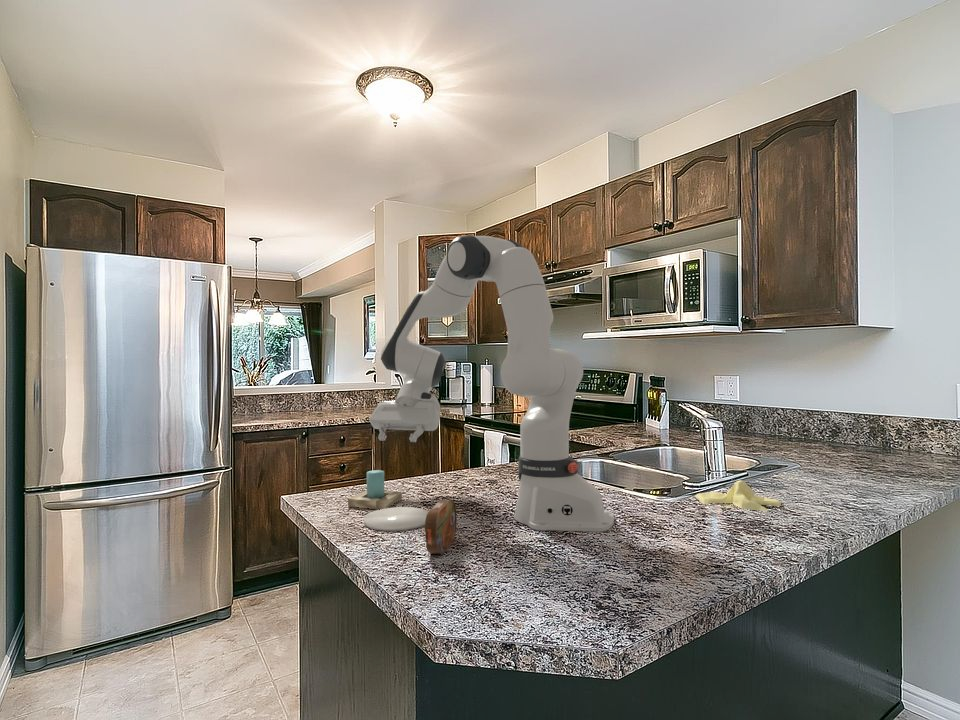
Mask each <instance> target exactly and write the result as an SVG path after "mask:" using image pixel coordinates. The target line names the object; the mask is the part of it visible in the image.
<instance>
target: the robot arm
mask: <svg viewBox="0 0 960 720" xmlns="http://www.w3.org/2000/svg"><path fill="white" fill-rule="evenodd" d="M478 281H483V282H486V283H488V282H492V283H493V282H494V283H495V284H496V288H497V292H498V296H499V300H500V301H499V302H500V305H501V308H502V312H503V317H504V321H505V324H506V332H507V351H506V357H505V358H504V360H503V362H502V364H501V366H500V379H501V382H502V385H503V386H504V388H505V389H506V391H508V392H509V393H510V394H512V395H515V396H519V397H521V398H526V399H530V400H529V404H528V408H527V410H526V412H525V415H524V416H523V417H522V418H521V422H520V426H519V428H520V429H519V431H520V432H519V433H520V437H519V439H520V440H519V441H520V443H519V444H520V448H519V449H520V455H519V456H518V462H517V469H518V471H517V475H518V481H519V488H518V496H517V502H516V508H515V511H514V515H513V518H514V520H515V521H516V522H519V523H521V524H523V525H526V526H528V527H529V528H530V529H532V530H537V531H565V532H566V531H567V532H597V533H598V532H599V533H601V532H605V531H607V530H610V529H611V528H612V527H613V526H614V523H615V518H614V517H615V516H614V514H613V512H611V511H609V510H607V509H605V506H604V500H603V497H602V494H601V492H600V491H599V489H597V488H596V487H595V486H594V485H592V484H591V483H590V482H588V481H587V480H586V479H585V478H584V477H582V475H580V474H579V473H578V472H579V463H578V459H574V458H573V457H571V456H570V453H569V452H570V450H569V449H570V446H569V445H570V443H569V442H570V435H569V434H570V433H569V432H570V418H571V413H572V408H573V405H574V404H573V403H574V399H575V395H576V392H577V390H578V389H577V388H578V387H579V384H581V382H582V379H583V377H584V366H583V363H582V361H581V359H580V358H579V357H578V356H577V355H575V354H574V353H572V352H570V351H568V350H565V349H563V348H553V347H552V346H551V326H552V324H553V321H554V314H553V308H552V306H551V302H550V298H549V296H548V291H547V288H546V283H545V281H544V278H543V274H542V271H541V269H540V267H539V265H538V263H537V260H536V259H535V256H534V254H533V253H532V252H531V251H530V250H529V249H528V248H525V247H524V246H523V245H522V244H520V243H519V242H517V241H514V240H512V239H503V238H501V237H493V236H490V235H473V234H467V235H461V236H457V237H455V238H454V239H453V240H452V241H451V242H450V244H449V245H448V248H447V252H446V254H445V256H444V258H443V259H442V261H441V264H440V265H439V267H438V270H437V273H436V275H435V278H434V280H433V282H432V284H431V285H430V286H429V287H428V288H427V289H426V290H424V291H423V290H422V291H419V292H418V293H417V294H416V295H415V296H414V298H413V299H412V301H411V303H410V304H409V305H408V307H407V309H406V311H405V312H404V314H403V315H402V316H401V317H402V318H400V319H401V320H400V321H399V323H398V325H397V326H396V328H395V330H394V332H393V334H392V335H391V336H390V338H389V339H388V340H387V341H386V343H385V344H384V346H383V348H382V351H381V354H380V361H381V362H382V364H383V366H384V367H385V369H386V370H390V371H392V372H395V373H401V374H404V375H405V376H404V380H403V384H401V387H400V389H399V391H398V394H397V395H396V398H395V400H389V401H388V400H382V402H379V403H377V404H376V407H375V409H374V410H373V412H372V414H371V415H370V417H369V423H370V424H371V427H372V428H373V430H374V429H375V430H378V432H379V434H378V437H377V438H378V440H379V441H381V442H383V441H386V439H387V434H386V431H387V430H398V431H414V432H413V433H410V436H409V437H408V439H409V441H410V443H417V440H418V438H419V437H420V436H421V435H423V433H424V431H425V432H427V431H429V432H434V431H436V430H437V429H438V427H439V424H440V421H441V415H440V414H441V410H442V409H441V405H440V404H441V403H440V402H439V400H438V398H437V396H436V395H435V394H433V393H431V391H432V390H433V388H434V387H436V386H437V385H439V383H440V382H441V379H442V375H443V372H444V370H445V367H446V364H447V363H446V359H445V357H444V355H443V353H442V352H441V351H439V350H436V349H434V348H431V347H428V346H424V345H422V344H419V343H416V342H414V341H412V340H409V338H408V336H409V335H410V333H411V331H412V329H413V328H414V326H415V324H417V322H418V321H419V320H421V319H424V318H452V317H455V316H458V315H460V314H461V313H464V311H465V310H466V309H467V307H468V305H469V304H470V302H471V300H472V297H473V295H474V293H475V290H476V287H477V284H478Z"/></svg>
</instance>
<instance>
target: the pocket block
mask: <svg viewBox="0 0 960 720" xmlns="http://www.w3.org/2000/svg"><path fill="white" fill-rule="evenodd" d="M401 499H402V500H403V491H392V490H391V491H390V490H384V497H383V498H381V499H375V498H367V489H366V490H364V491H362V492H360V493H358V494H355V495H353V496H351V497H349V498H347V506H348V507H347V508H356V507H359V508H360V509H367V508H369V510H379V509H385V508H387V507H388V508H390V507H392V506H393V504H394V503H395V504H397V503H399V502H400V501H399V500H401ZM402 500H401V501H402ZM398 501H399V502H398ZM396 502H397V503H396ZM395 504H394V505H395ZM391 505H392V506H391ZM389 506H390V507H389ZM359 508H358V509H359Z"/></svg>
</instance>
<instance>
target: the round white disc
mask: <svg viewBox="0 0 960 720" xmlns="http://www.w3.org/2000/svg"><path fill="white" fill-rule="evenodd" d="M428 512H429V510H428V511H427V510H425V509H422V508H419V507H418V508H417V507H408V506H404V507H403V506H399V507H397V506H396V507H388V508H385V509H380V510H379V509H375V510H373V511H370V512H368V513H367V514H365V515H364V516H363V524H364V526H365V527H366V528H369V529H372V530H377V531H383V532H397V531H398V532H399V531H406V530H407V531H409V530H414V529H418V528H421V527H425V520H426V516H427V513H428Z"/></svg>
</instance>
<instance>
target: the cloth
mask: <svg viewBox="0 0 960 720" xmlns="http://www.w3.org/2000/svg"><path fill="white" fill-rule="evenodd" d="M726 493H727V494H725V493H723V492H722V493H721V492H716V491H715V492H714V491H711V492H701V493H700V492H699V493H697V494H695V495H694V497H695V498H696V499H697V500H698V501H699V502H700V504H702V503H703V505H705V504H709V503H733V504H734V505H736V506H738V507H741V508H744V509H752V510H760V511H768V510H769V509H767V508H766V507H765V506H761V505H771V506H781V507H782V505H781V503H782V502H781V500H779V499H775V498H771V497H770V498H769V497H763V496H759V495H756V494H755V491H754V490H753V489H752V488H751V486H749V485H748V483H746V482H745V480H737V481H735V482H734V484H733V485H732V487H730V488H729V490H728V491H727V492H726ZM724 507H728V508H733V509H734V508H735V507H734V506H732V505H728V504H724ZM724 507H723V508H724ZM728 508H727V509H728Z"/></svg>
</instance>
